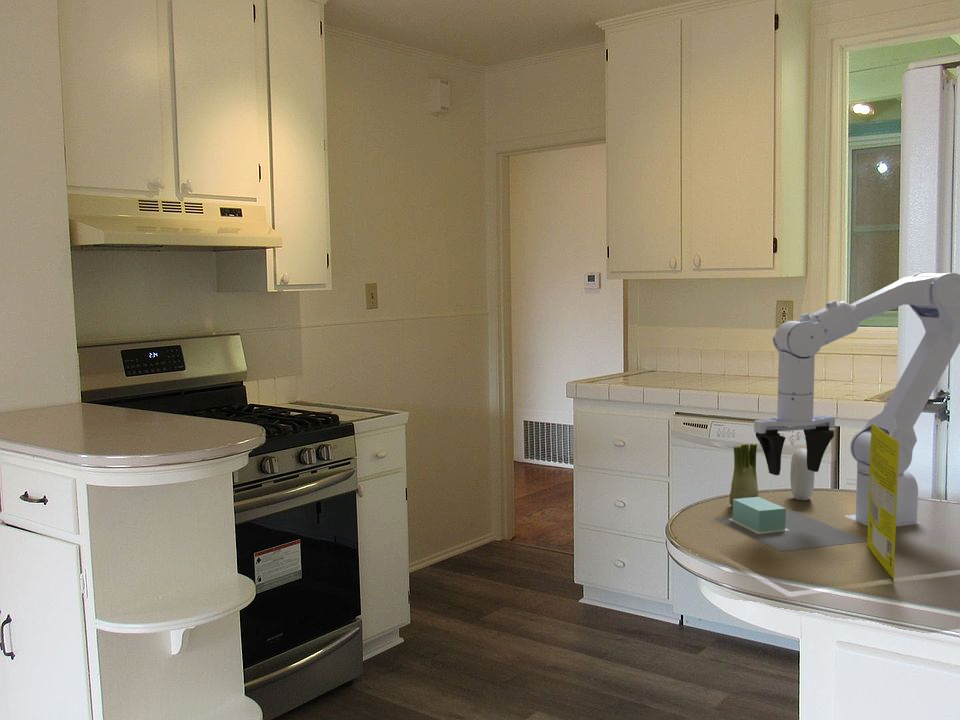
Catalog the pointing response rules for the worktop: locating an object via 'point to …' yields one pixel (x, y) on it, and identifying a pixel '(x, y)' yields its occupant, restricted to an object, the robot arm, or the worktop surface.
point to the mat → (797, 533)
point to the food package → (883, 497)
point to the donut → (801, 476)
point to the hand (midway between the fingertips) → (793, 472)
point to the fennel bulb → (744, 473)
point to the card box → (759, 514)
